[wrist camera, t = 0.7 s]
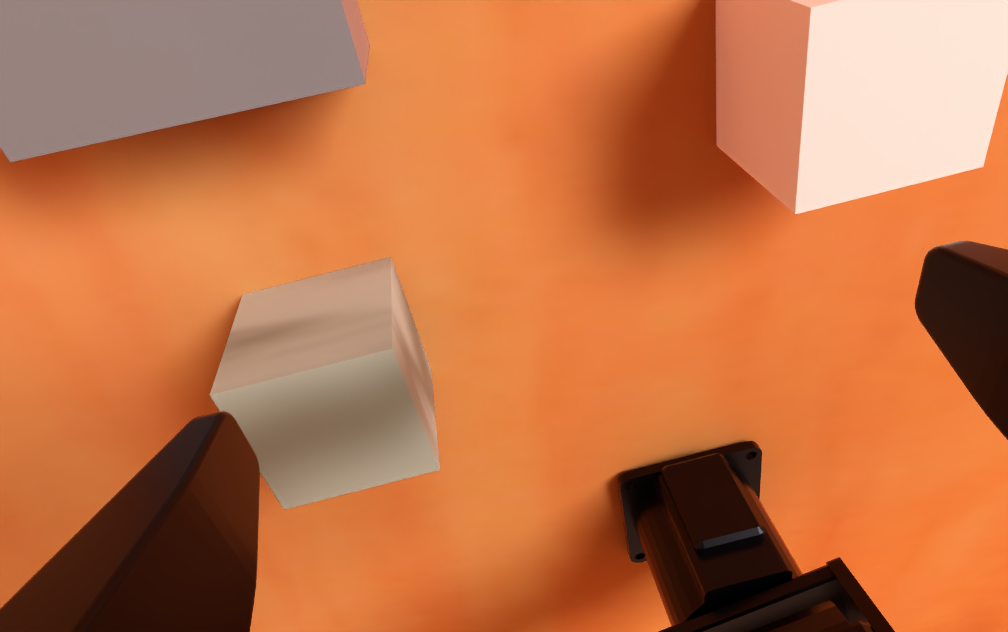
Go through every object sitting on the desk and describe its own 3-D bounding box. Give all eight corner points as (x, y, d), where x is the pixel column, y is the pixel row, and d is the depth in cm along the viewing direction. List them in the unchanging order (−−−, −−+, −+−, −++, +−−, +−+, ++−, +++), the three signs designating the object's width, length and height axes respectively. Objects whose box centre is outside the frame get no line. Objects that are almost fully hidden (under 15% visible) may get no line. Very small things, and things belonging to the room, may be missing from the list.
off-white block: (866, 106, 21) (982, 166, 17) (715, 144, 21) (795, 214, 17) (891, -71, 18) (1039, -51, 14) (714, -27, 18) (811, 7, 14)
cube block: (430, 367, 24) (440, 469, 20) (301, 400, 24) (284, 509, 20) (390, 255, 21) (392, 348, 17) (243, 293, 21) (209, 395, 17)
